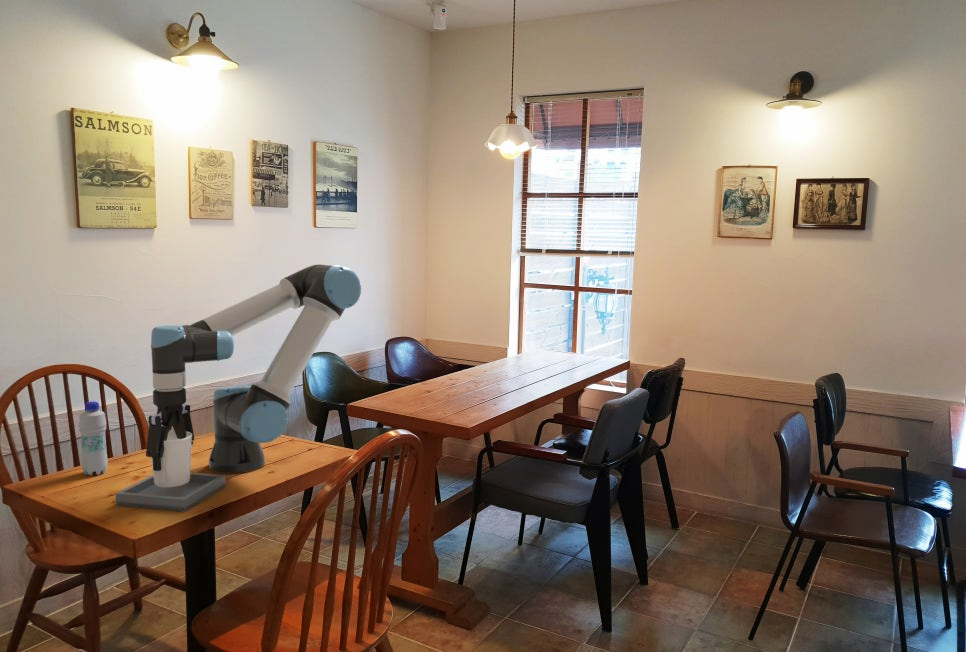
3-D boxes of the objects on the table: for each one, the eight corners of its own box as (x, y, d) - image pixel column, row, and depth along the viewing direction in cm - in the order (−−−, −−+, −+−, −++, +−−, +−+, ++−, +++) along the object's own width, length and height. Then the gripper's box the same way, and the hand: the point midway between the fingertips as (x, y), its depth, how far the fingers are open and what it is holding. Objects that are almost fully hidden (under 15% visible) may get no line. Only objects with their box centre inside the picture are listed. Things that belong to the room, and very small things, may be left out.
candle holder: (201, 477, 187) (200, 432, 186) (177, 490, 178) (176, 442, 176) (167, 474, 189) (165, 429, 188) (142, 486, 180) (140, 439, 178)
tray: (162, 481, 194) (162, 470, 194) (225, 486, 191) (225, 475, 191) (115, 505, 176) (115, 493, 176) (184, 511, 173) (184, 499, 173)
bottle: (113, 469, 204) (110, 399, 201) (101, 477, 197) (98, 404, 195) (88, 469, 203) (85, 398, 201) (76, 476, 197) (72, 404, 194)
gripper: (181, 379, 192) (184, 462, 194) (126, 396, 171) (130, 489, 173) (207, 381, 191) (209, 464, 193) (155, 398, 169) (158, 491, 172)
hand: (172, 476), depth 183 cm, fingers closed on candle holder, 9 cm apart
